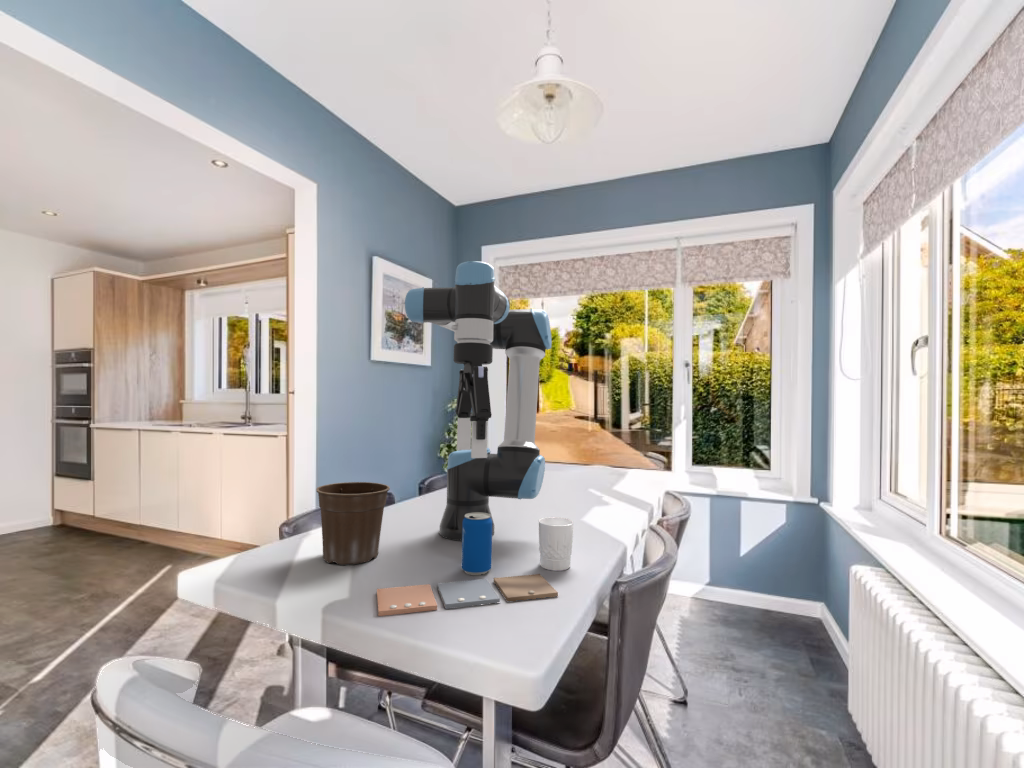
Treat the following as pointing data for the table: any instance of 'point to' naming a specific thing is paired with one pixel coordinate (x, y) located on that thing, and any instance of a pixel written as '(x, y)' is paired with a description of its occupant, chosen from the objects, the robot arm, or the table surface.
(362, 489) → the plant pot
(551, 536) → the white cup
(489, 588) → the two-dot tile
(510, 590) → the one-dot tile
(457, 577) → the table surface
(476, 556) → the beverage can
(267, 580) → the table surface
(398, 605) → the three-dot tile
